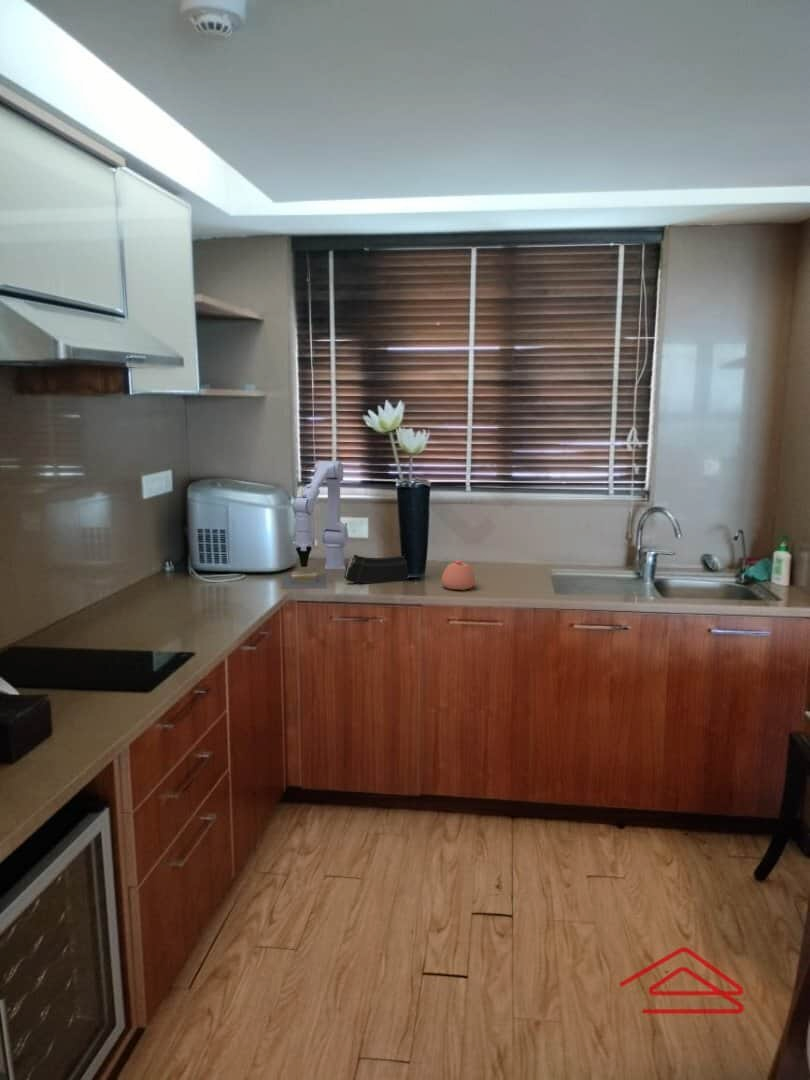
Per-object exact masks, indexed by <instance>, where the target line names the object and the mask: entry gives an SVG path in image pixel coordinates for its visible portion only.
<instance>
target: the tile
mask: <svg viewBox="0 0 810 1080" xmlns="http://www.w3.org/2000/svg"><path fill="white" fill-rule="evenodd" d="M291 575H292V583H316V575H317V571H292V572H291Z"/></svg>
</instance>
